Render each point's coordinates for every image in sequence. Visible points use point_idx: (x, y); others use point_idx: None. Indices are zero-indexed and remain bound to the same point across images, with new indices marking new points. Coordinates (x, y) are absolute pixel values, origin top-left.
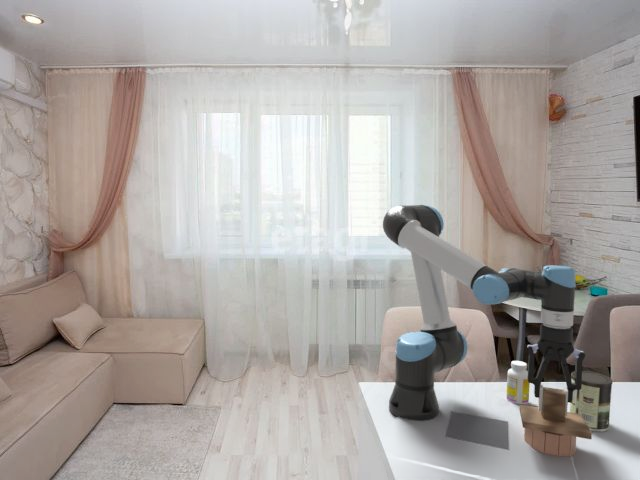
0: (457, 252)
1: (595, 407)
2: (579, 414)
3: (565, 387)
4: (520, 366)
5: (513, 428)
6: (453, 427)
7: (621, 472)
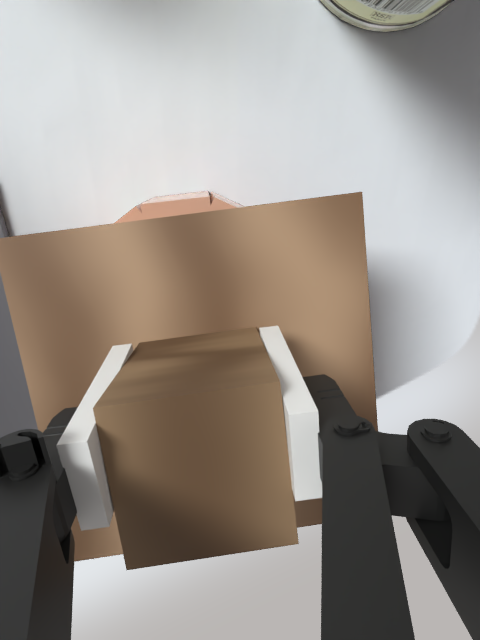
0: None
1: None
2: (356, 204)
3: (306, 414)
4: None
5: (31, 218)
6: None
7: (430, 360)
